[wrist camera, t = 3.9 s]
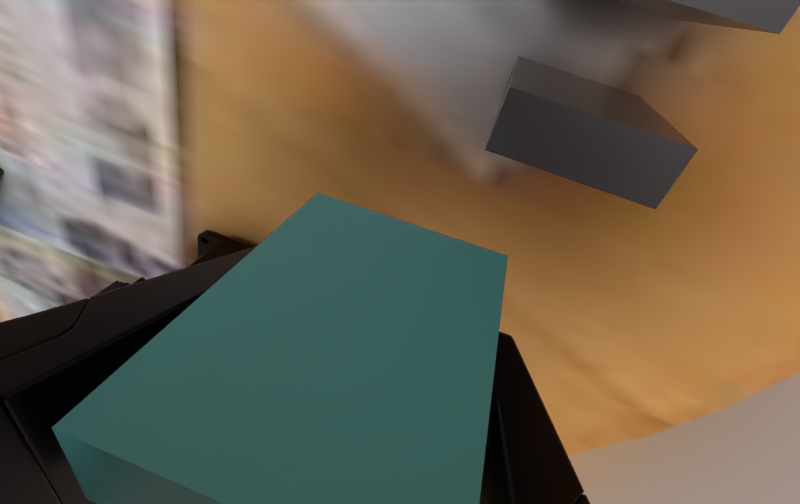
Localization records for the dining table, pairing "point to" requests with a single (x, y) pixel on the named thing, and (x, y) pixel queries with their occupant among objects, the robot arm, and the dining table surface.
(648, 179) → the domino
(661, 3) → the domino
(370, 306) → the domino
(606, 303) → the dining table surface
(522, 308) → the dining table surface
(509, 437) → the robot arm
